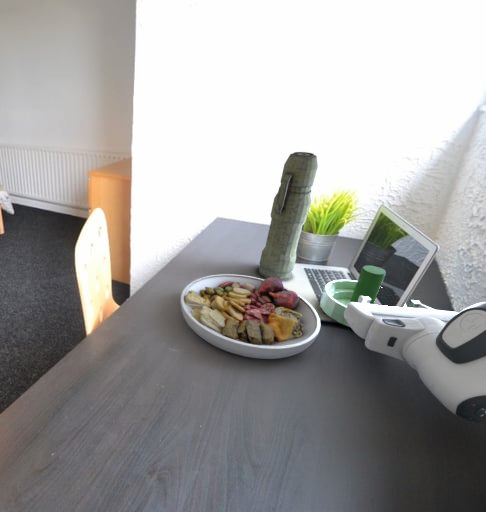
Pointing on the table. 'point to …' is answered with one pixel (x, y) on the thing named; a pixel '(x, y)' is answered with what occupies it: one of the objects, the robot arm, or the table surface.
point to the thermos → (288, 215)
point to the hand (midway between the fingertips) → (387, 300)
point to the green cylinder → (368, 283)
